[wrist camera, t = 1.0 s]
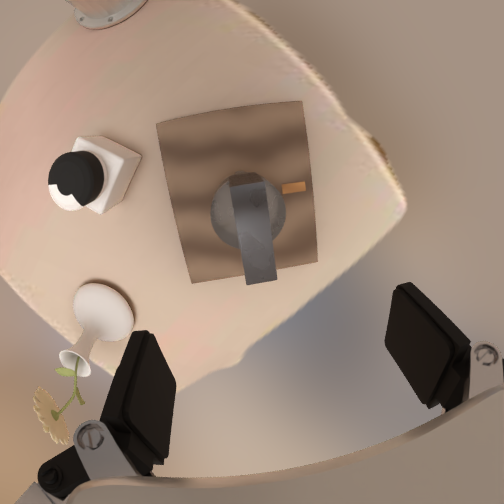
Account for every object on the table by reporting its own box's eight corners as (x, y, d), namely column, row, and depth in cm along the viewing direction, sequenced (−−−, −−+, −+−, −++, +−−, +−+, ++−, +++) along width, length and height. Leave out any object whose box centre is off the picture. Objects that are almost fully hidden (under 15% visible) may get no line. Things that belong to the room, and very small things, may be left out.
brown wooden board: (159, 124, 31) (144, 121, 24) (297, 102, 31) (314, 95, 25) (193, 276, 40) (187, 303, 33) (313, 256, 40) (329, 278, 34)
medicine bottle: (101, 135, 30) (53, 137, 19) (143, 155, 32) (106, 164, 21) (82, 181, 32) (34, 200, 21) (121, 202, 34) (82, 230, 23)
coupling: (206, 175, 27) (195, 193, 18) (273, 164, 27) (297, 177, 18) (222, 258, 31) (222, 309, 22) (283, 248, 31) (307, 294, 22)
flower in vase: (75, 270, 37) (-10, 379, 15) (138, 287, 40) (79, 423, 17) (80, 330, 42) (27, 436, 19) (135, 347, 44) (100, 468, 21)
